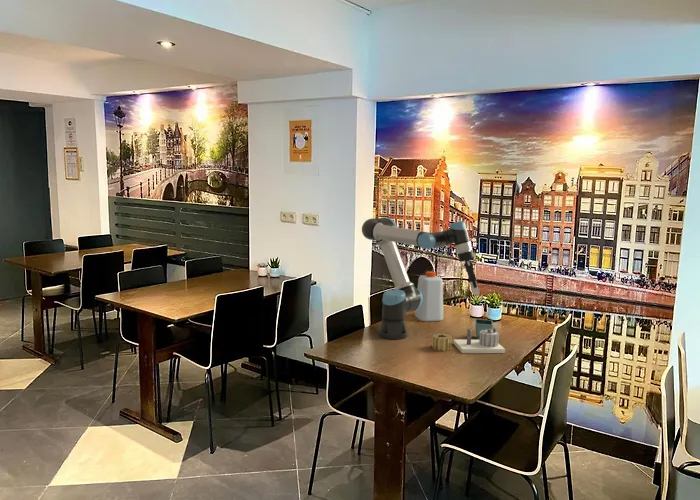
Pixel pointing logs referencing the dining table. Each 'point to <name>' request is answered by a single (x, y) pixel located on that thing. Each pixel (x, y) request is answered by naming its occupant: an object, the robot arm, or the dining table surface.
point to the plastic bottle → (430, 297)
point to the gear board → (480, 343)
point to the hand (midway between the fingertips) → (476, 294)
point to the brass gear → (441, 342)
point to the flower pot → (482, 326)
